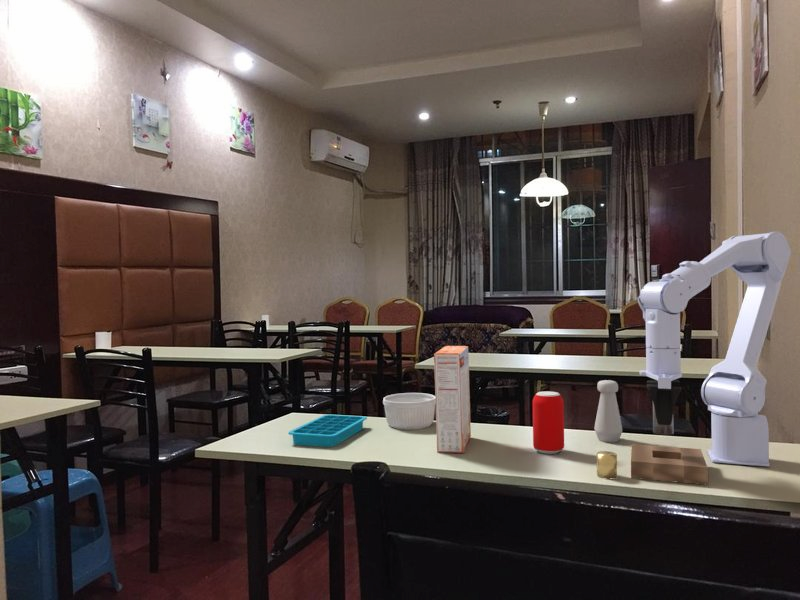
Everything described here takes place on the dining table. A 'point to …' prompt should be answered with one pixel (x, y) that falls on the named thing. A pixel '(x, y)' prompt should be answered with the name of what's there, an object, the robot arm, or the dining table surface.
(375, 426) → the dining table surface
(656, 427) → the long pin
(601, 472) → the short pin
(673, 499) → the dining table surface
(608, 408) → the salt shaker
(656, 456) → the hole block
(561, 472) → the dining table surface
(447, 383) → the cracker box
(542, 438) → the beverage can
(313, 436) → the ice cube tray
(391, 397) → the ramekin
